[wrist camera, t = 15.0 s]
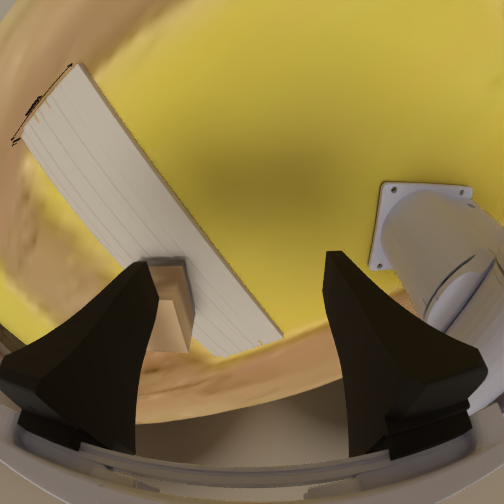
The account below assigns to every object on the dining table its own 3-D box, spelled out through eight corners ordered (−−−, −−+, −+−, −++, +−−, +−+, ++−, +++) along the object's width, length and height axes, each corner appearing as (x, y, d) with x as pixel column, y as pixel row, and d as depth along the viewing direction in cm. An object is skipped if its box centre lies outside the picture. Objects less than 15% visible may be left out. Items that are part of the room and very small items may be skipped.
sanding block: (184, 259, 22) (172, 300, 18) (195, 313, 25) (188, 353, 22) (137, 260, 22) (119, 298, 18) (154, 312, 25) (142, 350, 22)
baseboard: (205, 353, 32) (282, 326, 29) (203, 373, 30) (284, 348, 27) (19, 143, 17) (87, 62, 14) (-1, 153, 15) (67, 62, 12)
